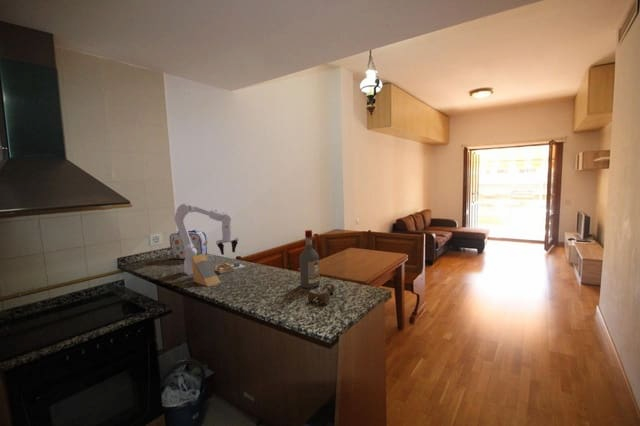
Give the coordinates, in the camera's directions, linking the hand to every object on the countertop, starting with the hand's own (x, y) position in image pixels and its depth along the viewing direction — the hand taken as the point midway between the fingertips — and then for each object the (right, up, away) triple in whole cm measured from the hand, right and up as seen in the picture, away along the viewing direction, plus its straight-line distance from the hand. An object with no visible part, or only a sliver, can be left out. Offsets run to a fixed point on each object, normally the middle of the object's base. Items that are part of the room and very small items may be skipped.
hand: (228, 253), depth 201 cm
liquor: (+54, -13, -33) cm, 65 cm away
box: (-1, -11, -3) cm, 11 cm away
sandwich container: (-5, -14, -23) cm, 28 cm away
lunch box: (-37, -8, +31) cm, 49 cm away
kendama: (+61, -16, -53) cm, 82 cm away
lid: (+4, -10, +6) cm, 13 cm away
